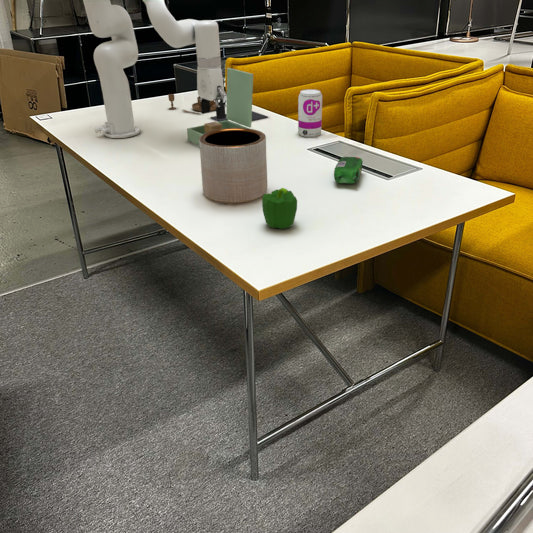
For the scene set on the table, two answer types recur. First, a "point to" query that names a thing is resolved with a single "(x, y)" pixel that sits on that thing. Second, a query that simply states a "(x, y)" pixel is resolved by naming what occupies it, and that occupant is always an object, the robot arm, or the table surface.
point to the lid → (239, 96)
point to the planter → (233, 164)
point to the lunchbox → (197, 131)
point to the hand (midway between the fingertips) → (213, 115)
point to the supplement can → (309, 113)
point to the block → (212, 126)
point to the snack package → (348, 170)
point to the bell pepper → (279, 208)
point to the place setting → (195, 106)
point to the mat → (254, 117)
